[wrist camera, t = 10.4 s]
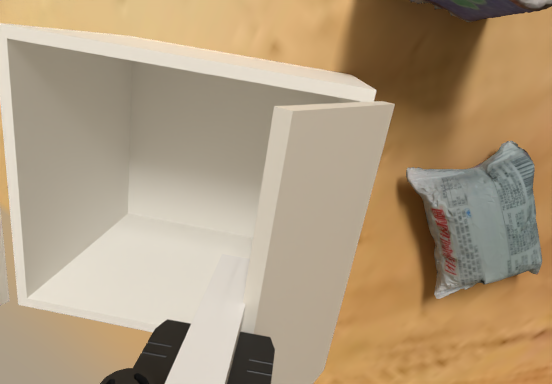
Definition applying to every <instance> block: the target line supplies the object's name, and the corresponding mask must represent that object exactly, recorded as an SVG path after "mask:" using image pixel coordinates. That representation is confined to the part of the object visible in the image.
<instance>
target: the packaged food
mask: <svg viewBox="0 0 552 384" xmlns="http://www.w3.org/2000/svg"><path fill="white" fill-rule="evenodd" d="M406 177H407V180H408V182H409V183H410V184H411V186H412V187H413V188H414V190H415V191H416V193H418V194H419V195H420V196H421V198H422V199H423V203H424V208H425V212H426V217H427V222H428V225H429V229H430V233H431V235H432V237H433V239H434V241H435V250H434V257H435V263H436V269H437V281H436V287H435V293H434V295H435V297H436V298H437V299H440V298H443V297H445V296H447V295H449V294H451V293H454V292H456V291H458V290H460V289H464V288H465V290H466V289H468V288H470V287H472V286H474V285H475V284H476V283H483V284H488V283H492V282H496V281H499V280H502V279H505V278H508V277H511V276H514V275H517V274H520V273H523V272H526V271H529V272H531V273H533V274H538V272H539V270H540V267H541V264H542V255H541V248H540V242H539V235H538V229H537V223H536V208H535V200H534V195H533V189H532V188H533V178H534V164H533V162H532V160H531V158H530V156H529V155H528V153H527V152H526V151H525V150H524V149H521V148H520V147H518V144H516V143H514V142H513V141H510V142H509V141H507V142H506V143H503V144H502V145H501V147H500V148H499V150H498V151H497V152H496V153H495V154H494V155H492V156H491V157H490V158H489V159H487V160H486V161H484V162H483V163H481V164H479V165H477V166H475V167H474V168H470V169H421V168H414V167H412V168H407V171H406ZM466 286H467V287H466ZM453 288H454V289H453Z"/></svg>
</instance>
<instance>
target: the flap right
mask: <svg viewBox="0 0 552 384" xmlns="http://www.w3.org/2000/svg"><path fill="white" fill-rule="evenodd" d="M394 106H395V104H393V103H388V102H384V101H374V102H352V103H331V104H310V105H289V106H274V110H273V117H272V123H271V129H270V135H269V142H268V148H267V154H266V161H265V167H264V173H263V180H262V186H261V192H260V198H259V205H258V211H257V217H256V224H255V230H254V236H253V242H252V249H251V255H250V261H249V268H248V274H247V280H246V287H245V293H244V299H243V303H244V304H245V311H244V317H243V324H242V331H241V332H245V333H251V334H256V335H262V336H267V337H270V338H271V340H272V343H273V346H274V348H275V354H274V363H273V371H272V379H271V384H313V383H314V382H315V381H316V379H317V378H318V377H319V376H320V374H321V373H322V372H323V370H324V368H325V364H326V360H327V357H328V353H329V349H330V345H331V342H332V338H333V334H334V330H335V327H336V323H337V319H338V315H339V312H340V308H341V304H342V301H343V297H344V293H345V289H346V286H347V282H348V278H349V274H350V271H351V267H352V263H353V259H354V256H355V252H356V248H357V244H358V241H359V237H360V233H361V229H362V226H363V222H364V218H365V215H366V211H367V207H368V203H369V200H370V196H371V192H372V188H373V185H374V181H375V177H376V173H377V170H378V166H379V162H380V158H381V155H382V151H383V147H384V144H385V140H386V136H387V132H388V129H389V125H390V121H391V117H392V114H393V110H394Z"/></svg>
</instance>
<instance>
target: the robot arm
mask: <svg viewBox="0 0 552 384" xmlns="http://www.w3.org/2000/svg"><path fill="white" fill-rule="evenodd" d="M249 261H250V259H248V258H242V257H237V256H231V255H226V254H222V255H221V258H220V260H219V262H218V264H217V267H216V269H215V271H214V273H213V276H212V278H211V280H210V282H209V285H208V287H207V289H206V292H205V294H204V296H203V298H202V301H201V303H200V305H199V307H198V310H197V312H196V314H195V316H194V319H193V321H192V323H185V322H180V321H174V320H169V319H167V320H166V321H164V322H163V323H162V324H160V325H159V326H158V327H157V328H155V330H154V332H153V333H152V335H151V337H150V339H149V340H148V343H147V344H146V346H145V348H144V349H143V351H142V354H141V355H140V356H139V358H138V360H137V362H136V363H135V365H134V367H133V368H127V369H123V370H119V371H116V372H114V373H112V374H110V375H109V376H107V377H106V378H105V379H104V380H103V381H102V382H101V383H100V384H271V379H272V371H273V363H274V354H275V348H274V346H273V343H272V340H271V338H270V337H267V336H262V335H256V334H251V333H245V332H241V331H242V324H243V317H244V311H245V304H244V303H243V299H244V293H245V287H246V280H247V274H248V268H249Z"/></svg>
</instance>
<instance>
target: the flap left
mask: <svg viewBox="0 0 552 384" xmlns="http://www.w3.org/2000/svg"><path fill="white" fill-rule="evenodd" d="M6 302H9V293H8V282H7V273H6V262H5V251H4V241H3V231H2V221H1V210H0V305H2V304H4V303H6Z"/></svg>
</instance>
